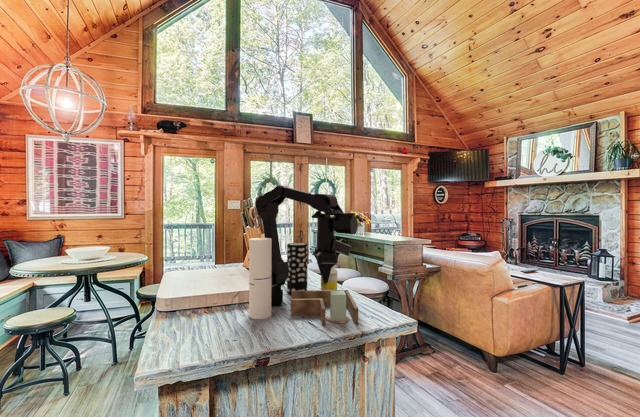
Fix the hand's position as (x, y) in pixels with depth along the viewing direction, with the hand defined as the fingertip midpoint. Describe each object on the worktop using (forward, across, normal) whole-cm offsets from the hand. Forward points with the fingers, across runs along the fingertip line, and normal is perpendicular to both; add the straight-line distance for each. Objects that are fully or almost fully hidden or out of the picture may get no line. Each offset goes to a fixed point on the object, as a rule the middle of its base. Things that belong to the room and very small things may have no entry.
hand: (324, 279), depth 104 cm
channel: (+12, +1, +1) cm, 12 cm away
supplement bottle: (+12, +24, -4) cm, 27 cm away
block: (+11, -5, -4) cm, 13 cm away
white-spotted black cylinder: (+12, +26, +9) cm, 30 cm away
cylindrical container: (+12, 0, +21) cm, 24 cm away
